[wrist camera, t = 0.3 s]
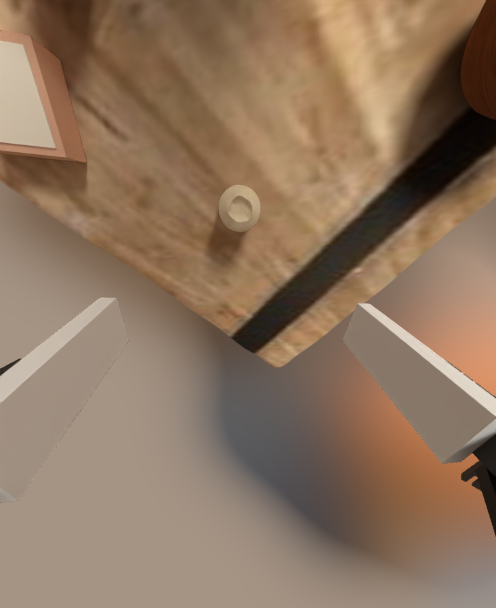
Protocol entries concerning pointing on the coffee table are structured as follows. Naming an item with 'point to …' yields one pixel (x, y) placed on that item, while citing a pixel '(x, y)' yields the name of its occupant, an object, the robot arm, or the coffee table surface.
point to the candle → (239, 208)
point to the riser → (35, 102)
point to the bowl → (481, 63)
